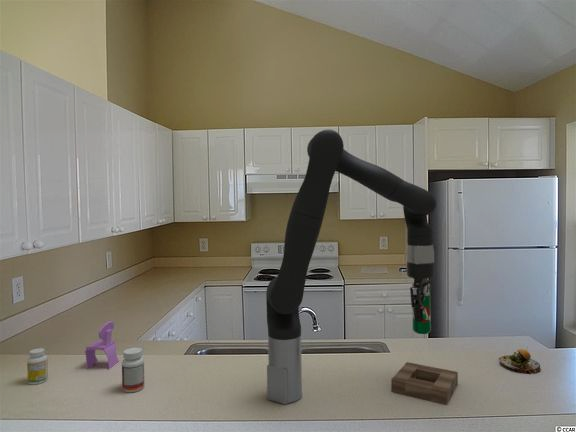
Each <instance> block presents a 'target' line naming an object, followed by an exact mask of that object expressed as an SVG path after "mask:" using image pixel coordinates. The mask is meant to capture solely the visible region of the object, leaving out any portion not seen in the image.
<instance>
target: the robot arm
mask: <svg viewBox="0 0 576 432" xmlns="http://www.w3.org/2000/svg"><path fill="white" fill-rule="evenodd" d="M344 145H345V144H344V140H343V138H342V136H341V135H340V133H339V132H338V131H335V130H333V129H329V128H328V129H323V130H321V131H318V132H317V133H316V134H315V135H314V136H313V137H311V139H310V140H309V142H308V143H307V147H306V148H307V149H306V152H307V155H308V156H307V157H308V162H307V163H308V165H307V169H306V173H305V176H304V179H303V180H302V181H303V182H302V183H301V186H300V188H299V190H298V192H297V193H296V196H295V199H294V201H293V204H292V207H291V210H290V213H289V217H288V220H287V224H286V229H285V233H284V234H285V235H284V245H283V247H284V248H283V256H282V260H281V266H280V267H279V271H278V274H277V276H275V277H274V278H273V279H272V280H270V281H269V282H268V285H267V286H266V287H267V288H266V292H265V293H266V298H265V299H266V324H267V338H268V339H267V343H268V344H267V345H268V347H267V349H268V350H267V351H268V352H267V353H268V364H267V365H266V391H267V393H266V395H267V400H269V401H273V402H276V403H279V404H283V405H288V404H290V403H295V402H297V401H299V400H300V399H301V398H302V397H303V383H302V382H303V378H302V375H303V373H302V371H303V370H302V325H301V320H300V319H301V318H300V310H299V308H300V306H301V305H302V302H303V298H304V293H305V286H306V280H307V275H308V271H309V265H310V263H311V259H312V257H313V254H314V251H315V248H316V245H317V241H318V240H319V239H318V238H319V235H320V232H321V229H322V224H323V221H324V218H325V213H326V209H327V205H328V200H329V195H330V188H331V186H332V181H333V179H334V176H335V173H336V172H337V173H339V174H341V175H343V176H345V177H347V178H350V179H352V180H353V181H355V182H357V183H359V184H360V185H362V186H364V187H366V188H368V189H369V190H370V191H373V192H374V193H376V194H378V195H379V196H381V197H383V198H385V199H386V200H389V201H390V202H394V203H398V204H400V205H402V207H403V208H402V209H403V216H404V221H405V225H406V231H407V240H406V241H407V245H406V246H407V248H406V275H407V277H409V278H411V279H413V283H412V284H411V285H412V287H411V286H410V288H409V291H410V302H411V304H410V305H411V308H412V307H414V308H415V321H417V322H422V321H423V302H424V301H425V299H426V291H429V294H430V295H431V284H432V282H431V279H433V278H434V277H435V251H434V237H433V227H432V226H431V225H430V224H429V222H428V216H429V215H431V214H432V213H433V212H435V210H436V208H437V201H436V198H435V196H434V195H433V193H431V191H429V190H427V189H425V188H423V187H420V186H418V185H415V184H413V183H411V182H408V181H406V180H404V179H402V178H401V177H400V176H398V175H396V174H394V173H392V172H391V171H389V170H388V169H386V168H383V167H381V166H379V165H377V164H374V163H371V162H367V161H366V160H365V159H364V160H363V159H361V158H359V157H357V156H355V155H353V154H351V152H349V151H347V150H346V149H344ZM421 295H423V297H421ZM416 300H417V301H418V303H416Z"/></svg>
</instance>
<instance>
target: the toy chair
mask: <svg viewBox="0 0 576 432" xmlns="http://www.w3.org/2000/svg"><path fill="white" fill-rule="evenodd" d="M114 328H115V323H114V321H112V320H110V321H107V322H105V324H103V325H102V326H101V327H100V328H99V331H98V338H99V339H100V340H99V339H98V340H96V341H94V342H92V343H90V344H89V345H87V346H86V347H85V351H84V353H85V363H86V364H85V365H86V366H85V369H90V367H92V366H94V365H95V364H97V363H98V362H99V360H98V358H97V356H96V350H98V351H103V352H104V353H105V355H106V358H107V363H108V364H107V365H108V366H107V368H108V369H110V368H111V369H113V368H114V367H115V366H116V365H115V364H117V363H118V362H120V360H119V358H118V357H117V356H118V355H117V345H116V342H115V340H112V334H113V330H114ZM96 362H97V363H96ZM93 364H94V365H93ZM118 364H119V363H118ZM118 364H117V365H118ZM114 365H115V366H114ZM113 366H114V367H113ZM112 367H113V368H112ZM111 369H110V370H111Z"/></svg>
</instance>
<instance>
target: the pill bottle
mask: <svg viewBox="0 0 576 432" xmlns="http://www.w3.org/2000/svg"><path fill="white" fill-rule="evenodd" d="M122 355H123V360H122V362H121V380H122V381H121V385H122V387H121V388H122V391H123V392H125V393H136V392H139V391H141V390H143V389H144V388H145V360H144V359H145V358H144V357H142V356H143V349H142V348H141V347H131V348H126V349H125V350H123V354H122Z"/></svg>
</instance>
